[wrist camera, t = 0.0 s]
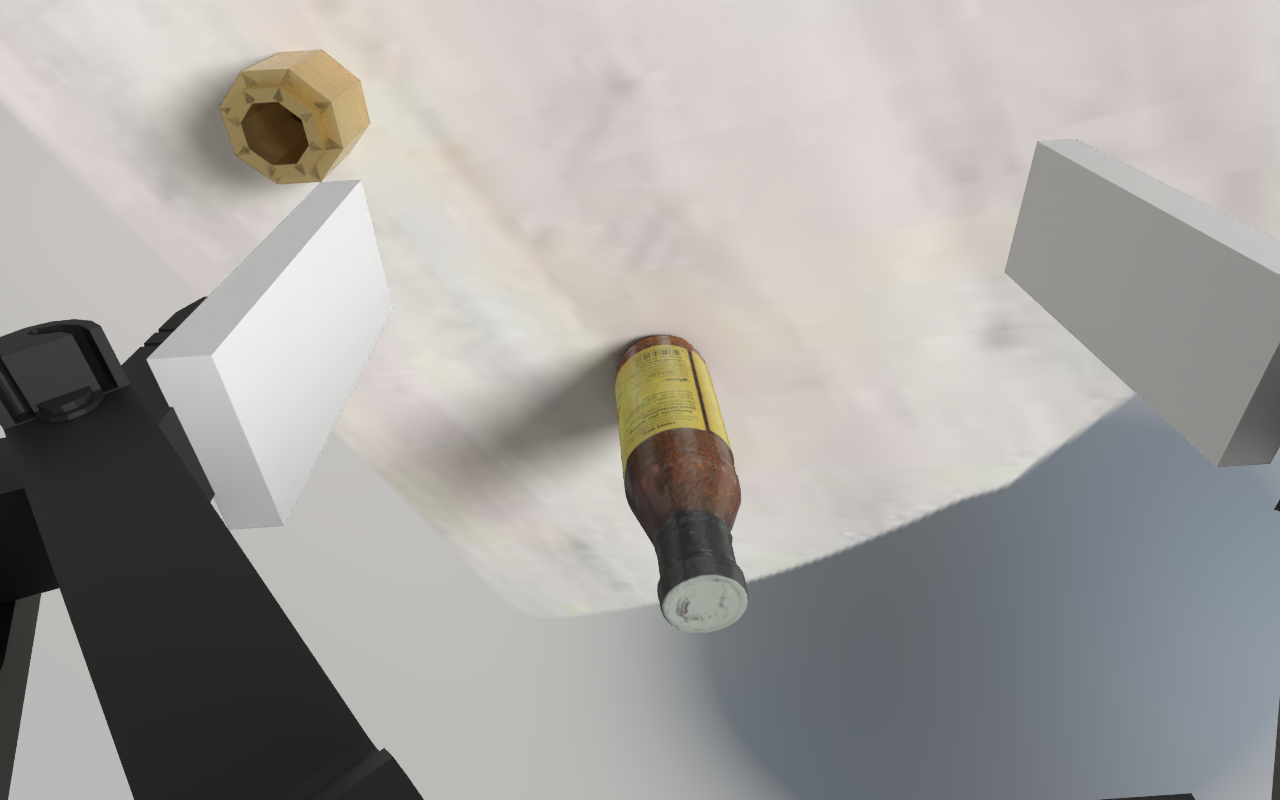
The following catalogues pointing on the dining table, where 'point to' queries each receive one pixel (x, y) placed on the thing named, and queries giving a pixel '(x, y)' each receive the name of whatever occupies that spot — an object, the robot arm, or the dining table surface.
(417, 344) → the dining table surface
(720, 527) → the sauce bottle
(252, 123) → the tan octagonal cup
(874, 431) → the dining table surface
